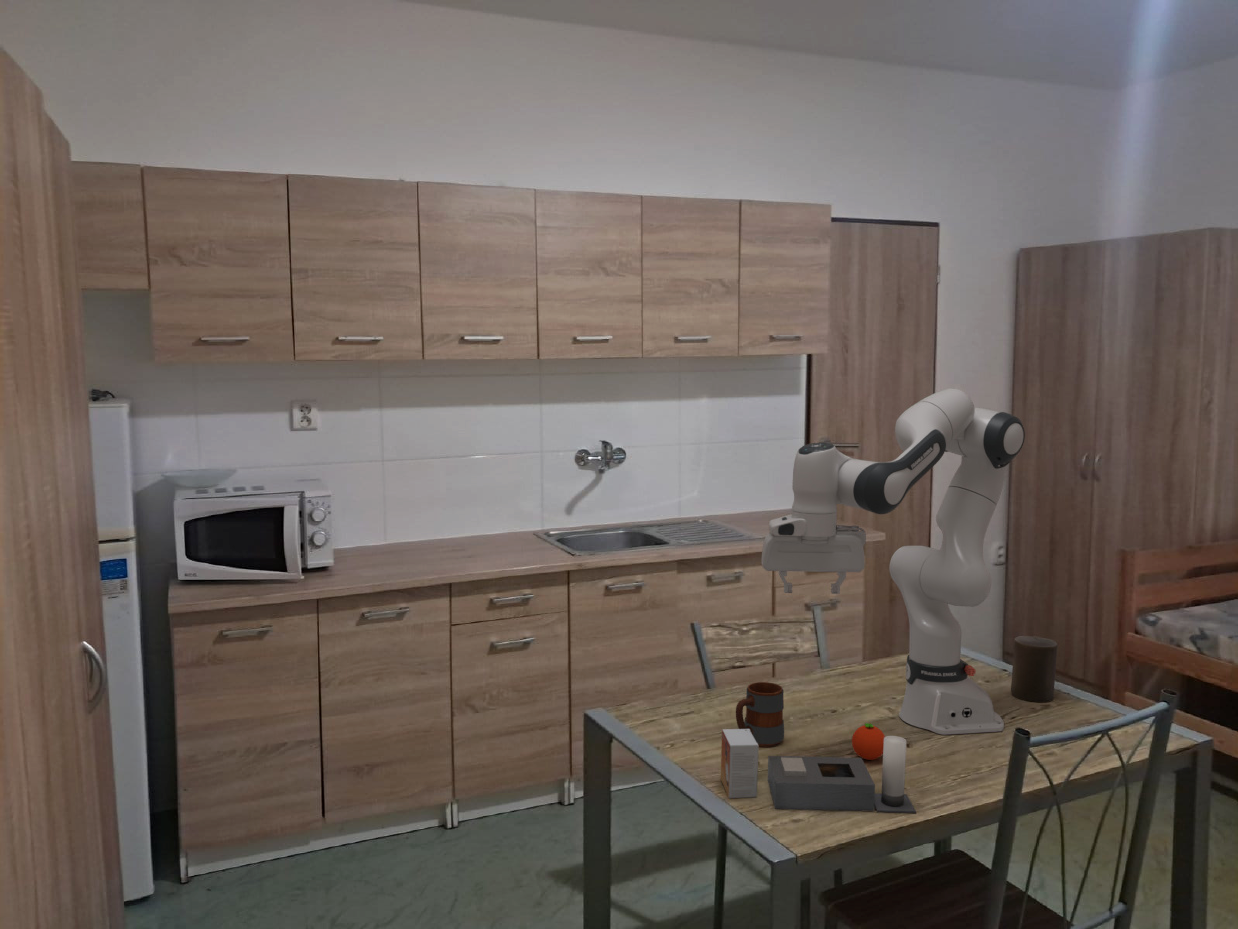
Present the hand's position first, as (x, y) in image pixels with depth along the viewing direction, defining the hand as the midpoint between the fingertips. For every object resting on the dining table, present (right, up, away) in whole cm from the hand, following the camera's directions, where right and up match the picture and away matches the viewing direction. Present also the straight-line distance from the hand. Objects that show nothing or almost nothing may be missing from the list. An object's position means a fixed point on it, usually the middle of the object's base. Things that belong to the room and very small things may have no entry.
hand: (811, 592), depth 200 cm
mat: (+12, -37, -15) cm, 42 cm away
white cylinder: (+12, -37, -15) cm, 42 cm away
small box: (-16, -37, -9) cm, 41 cm away
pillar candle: (+62, -31, +43) cm, 82 cm away
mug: (-9, -34, +14) cm, 38 cm away
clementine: (+13, -35, +6) cm, 38 cm away
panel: (-1, -37, -12) cm, 39 cm away
